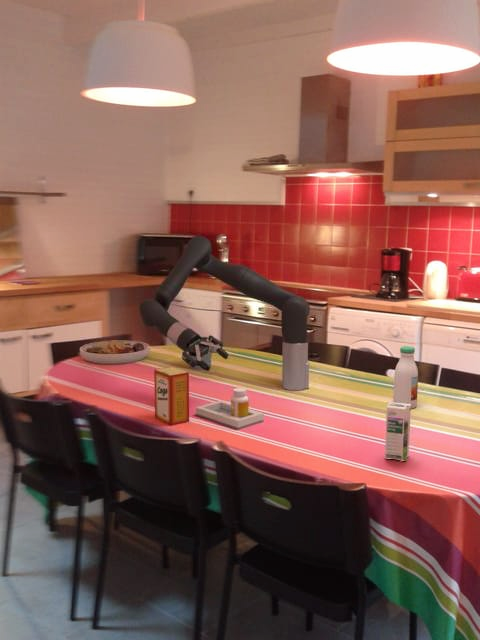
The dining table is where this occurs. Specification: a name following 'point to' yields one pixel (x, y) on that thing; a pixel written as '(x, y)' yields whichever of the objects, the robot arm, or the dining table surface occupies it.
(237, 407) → the supplement bottle
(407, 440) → the syrup box
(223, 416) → the gray rectangular tray
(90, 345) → the bowl
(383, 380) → the dining table surface
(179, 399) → the baking soda box
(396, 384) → the milk bottle
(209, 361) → the blue-grey cup
